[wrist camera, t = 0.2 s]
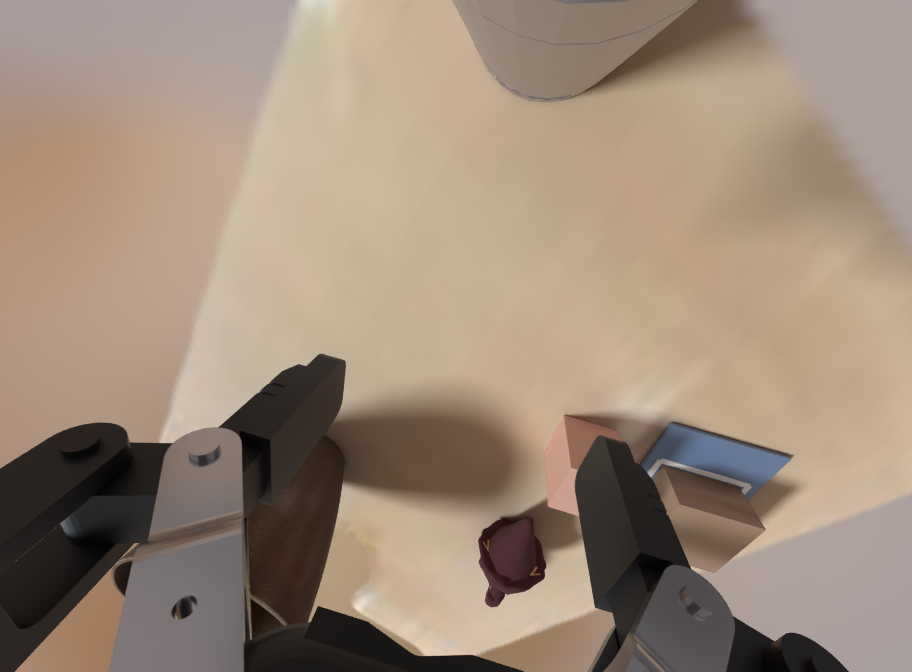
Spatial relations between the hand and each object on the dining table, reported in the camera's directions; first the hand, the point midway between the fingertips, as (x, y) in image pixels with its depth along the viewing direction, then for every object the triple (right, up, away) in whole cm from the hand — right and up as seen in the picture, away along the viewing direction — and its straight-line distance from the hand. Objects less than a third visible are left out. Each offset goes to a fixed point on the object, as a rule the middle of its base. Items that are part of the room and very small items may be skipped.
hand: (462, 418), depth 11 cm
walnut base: (+21, -13, +23) cm, 34 cm away
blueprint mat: (+22, -12, +22) cm, 33 cm away
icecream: (+6, -19, +30) cm, 36 cm away
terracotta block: (+11, -7, +22) cm, 26 cm away
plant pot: (-16, -11, +30) cm, 36 cm away
